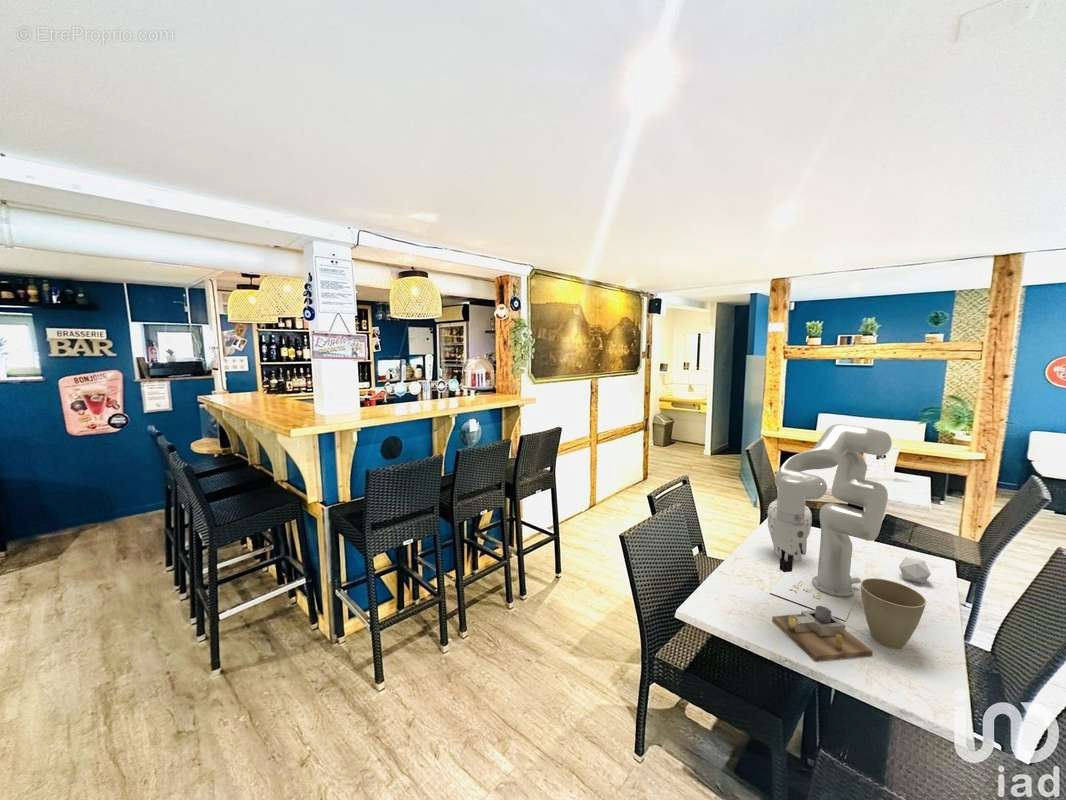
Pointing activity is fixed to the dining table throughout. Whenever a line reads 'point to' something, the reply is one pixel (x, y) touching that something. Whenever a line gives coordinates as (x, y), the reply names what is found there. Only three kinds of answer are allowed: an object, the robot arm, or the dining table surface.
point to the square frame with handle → (815, 625)
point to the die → (914, 570)
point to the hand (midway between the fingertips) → (785, 570)
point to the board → (824, 639)
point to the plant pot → (891, 611)
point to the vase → (772, 515)
